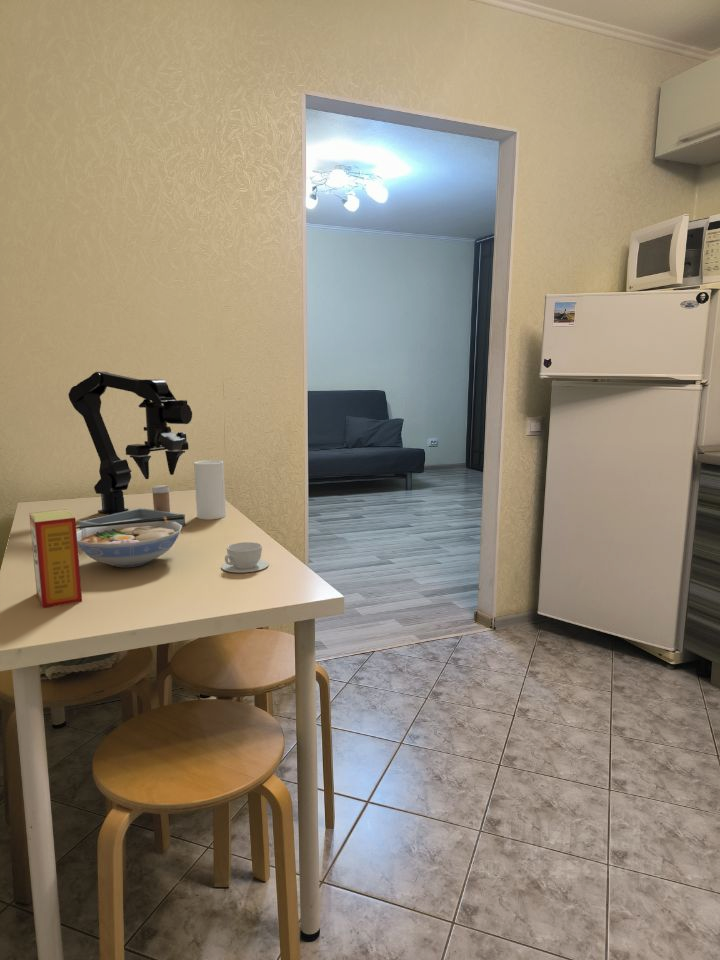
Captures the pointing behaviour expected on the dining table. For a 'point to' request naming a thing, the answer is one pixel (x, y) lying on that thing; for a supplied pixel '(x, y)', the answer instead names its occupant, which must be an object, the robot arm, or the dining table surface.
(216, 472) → the cup
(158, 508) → the shaker
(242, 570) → the teacup
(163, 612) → the dining table surface
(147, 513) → the tray
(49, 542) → the baking soda box
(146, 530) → the ramen bowl
